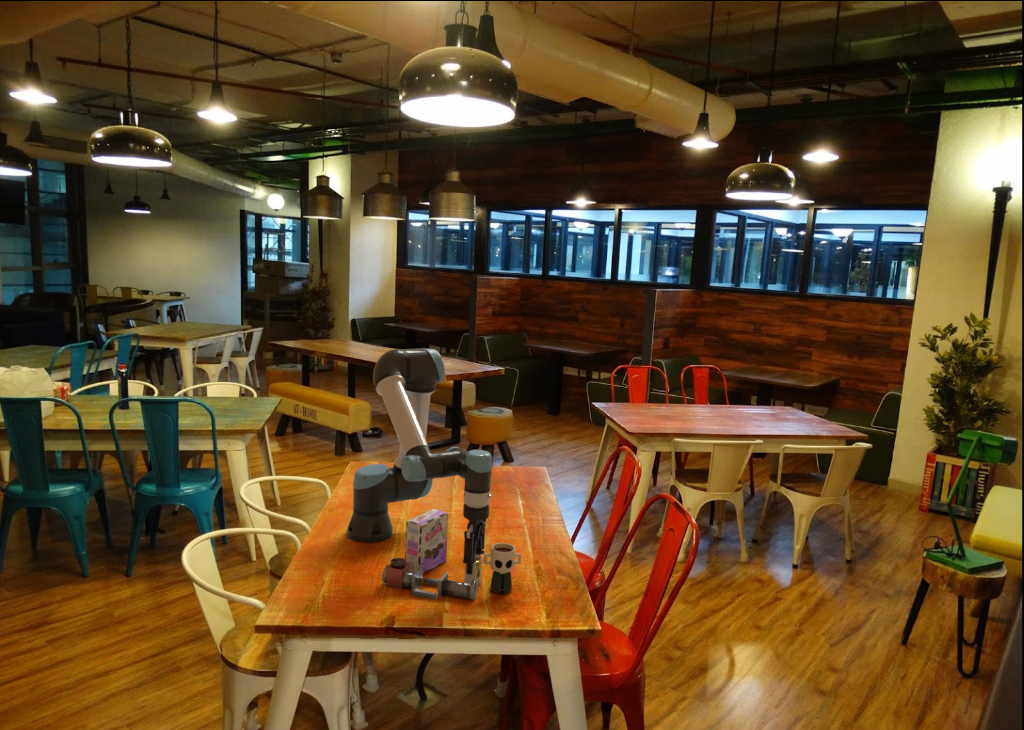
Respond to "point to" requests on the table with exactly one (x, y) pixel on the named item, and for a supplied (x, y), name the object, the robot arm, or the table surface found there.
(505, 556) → the character mug
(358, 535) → the robot arm
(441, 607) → the table surface
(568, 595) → the table surface
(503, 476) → the table surface
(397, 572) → the pipe run
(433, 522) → the candy box
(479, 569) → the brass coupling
